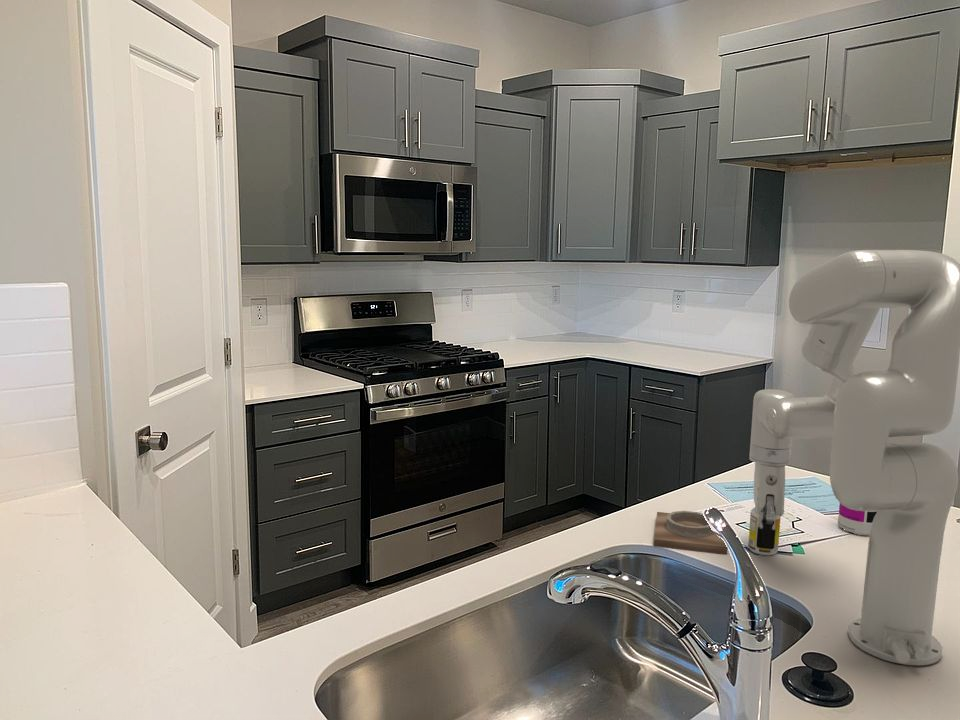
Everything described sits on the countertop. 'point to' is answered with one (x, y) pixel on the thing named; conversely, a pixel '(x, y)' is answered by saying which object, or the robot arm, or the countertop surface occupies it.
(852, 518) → the supplement can
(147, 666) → the countertop surface
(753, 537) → the supplement bottle
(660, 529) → the collar board
